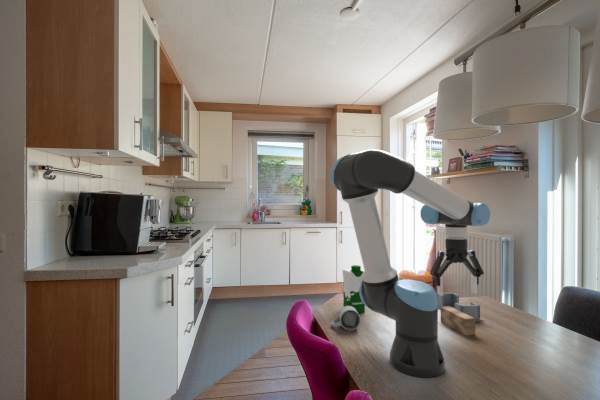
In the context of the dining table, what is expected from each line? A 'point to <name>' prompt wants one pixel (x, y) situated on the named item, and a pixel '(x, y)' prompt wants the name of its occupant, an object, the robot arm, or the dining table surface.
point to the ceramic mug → (347, 318)
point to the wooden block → (458, 320)
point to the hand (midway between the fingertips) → (457, 293)
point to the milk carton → (353, 288)
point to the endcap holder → (453, 302)
